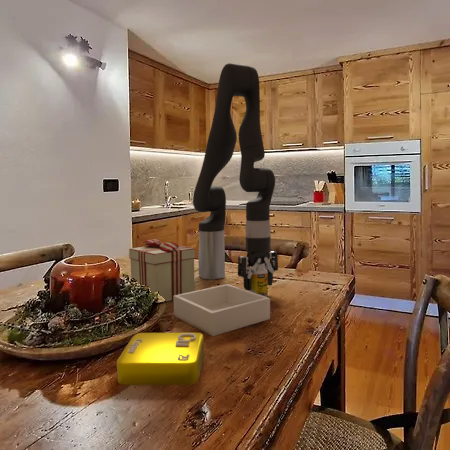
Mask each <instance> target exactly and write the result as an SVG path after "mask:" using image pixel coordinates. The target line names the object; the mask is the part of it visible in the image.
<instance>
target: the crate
mask: <svg viewBox="0 0 450 450" xmlns="http://www.w3.org/2000/svg"><path fill="white" fill-rule="evenodd" d="M172 301H173V316H174V317H175V318H178V319H179V320H181V321H182V322H185V323H187V324H189V325H191V326H193V327H194V328H196V329H199V330H200V331H201V332H204V333H205V334H208V335H209V336H211V337H215V336H219V335H221V334H225V333H229V332H231V331H234V330H235V331H236V330H238V329H241V328H244V327H249V326H250V325H252V326H253V325H254V324H258V323H261V322H264V321H268V320H270V319H271V298H270V297H268V296H266V297H265V296H262V295H259V294H256V293H253V292H250V291H248V290H245V288H241V287H237V286H234V285H231V284H230V283H229V284H228V283H226V284H221V285H216V286H212V287H207V288H204V289H198V290H195V291H193V292H188V293H184V294H179V295H174V296H173V300H172Z"/></svg>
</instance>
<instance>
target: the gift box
mask: <svg viewBox="0 0 450 450" xmlns="http://www.w3.org/2000/svg"><path fill="white" fill-rule="evenodd" d="M142 243H143V244H144V245H145V246H139V247H132V248H128V249H129V250H128V256H129V259H130V279H131V278H134V279H136V280H137V282H138V284H140V285H145V286H149V288H150V291H151V292H157V291H159V295H160V296H162V297H163V298H164V299H165V301H166V302H171V301H174V300H173V296H174V295H179V294H184V293H188V292H193V291H196V290H195V259H196V248H194V247H191V246H185V245H179V244H177V243H176V242H173V241H170V242H161V240H159V239H156V238H155V239H154V238H153V239H148V240H143V241H142ZM166 302H165V303H166Z"/></svg>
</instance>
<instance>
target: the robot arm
mask: <svg viewBox="0 0 450 450" xmlns="http://www.w3.org/2000/svg"><path fill="white" fill-rule="evenodd" d="M218 80H219V81H218V84H217V85H218V86H217V93H216V100H215V107H214V114H213V118H212V122H211V127H210V130H209V134H208V139H207V141H206V142H207V143H206V146H205V153H204V157H203V162H202V166H201V168H200V172H199V175H198V178H197V181H196V184H195V187H194V191H193V194H192V195H193V196H192V205H193V207H194V210H195V211H196V212H198V213H199V212H200V213H207V212H209V213H210V214H209V216H207V217H206V218H205V219H203V220H202V221H200V222H199V223H198V252H197V254H198V259H197V260H198V276H199V277H200V278H201V279H204V280H218V279H223V278H225V277H226V262H225V261H226V260H225V259H226V258H225V257H226V256H225V252H226V251H225V223H226V213H227V212H226V211H227V210H226V209H227V197H226V195H227V194H226V192H225V189H224V188H223V187H222V186H221V185H213V183H214V181H215V179H216V177H217V176H218V175H219V173H221V171H222V170H223V169H224V168H225V167H226V166H227V165H228V163H229V162H230V161H231V160H232V157H233V155H234V152H235V148H236V144H237V140H238V144H239V151H240V155H241V157H240V158H241V159H240V172H239V185H240V187H241V189H242V190H243V191H244V192H246V193H257V196H256V198H255V199H251V200H249V201H247V202H246V204H245V205H246V206H245V215H246V216H245V220H246V221H245V251H246V256H240V255H239V256H238V257H237V276H238V277H241V278H242V279H243V289H244V290H247V291H250V290H251V278H250V277H251V275H252V273H253V272H255V270H256V268H257V266H258V264H263V263H265V269H266V270H267V272H268V286H273V282H274V273H275V272H277V271H278V270H279V260H278V259H279V258H278V256H279V255H278V251H274V250H271V248H272V247H271V246H272V245H271V243H272V242H271V234H272V233H271V232H272V231H271V222H270V221H271V220H270V216H271V214H270V213H271V212H270V210H271V209H270V206H271V202H272V198H273V193H274V189H275V185H276V175H275V174H274V171H273V170H272V169H270V168H268V167H255V163H256V162H260V161H262V160H263V159H264V158H265V155H266V154H265V153H266V152H265V145H264V141H263V136H262V134H263V133H262V130H261V100H260V99H261V97H260V95H261V94H260V91H261V90H260V89H261V88H260V77H259V73H258V71H257V69H256V68H255V67H254V66H251V65H247V64H240V63H233V62H227V63H225V64H224V66H223V67H222V69H221V71H220V75H219V79H218ZM233 97H240V98H241V97H242V98H244V102H245V112H244V115H243V118H242V121H241V122H240V125H239V128H238V135H237V130H236V128H235V123H234V121H233V117H232V115H231V114H232V113H231V112H232V111H231V109H232V102H233ZM237 136H238V138H237Z"/></svg>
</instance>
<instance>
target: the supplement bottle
mask: <svg viewBox="0 0 450 450" xmlns="http://www.w3.org/2000/svg"><path fill="white" fill-rule="evenodd" d="M250 278H251V290H250V292H253V293H256V294H259V295H262V296H265V297H268V286H269V285H268V272H267V270H266V269H265V263H263V264H258V266H257V268H256V270H255V272H253V273H252V275H251V277H250Z"/></svg>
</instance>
